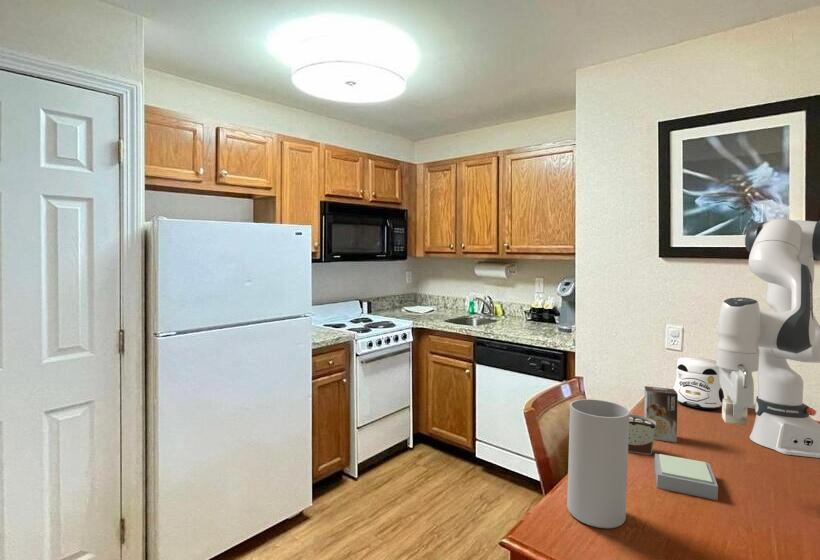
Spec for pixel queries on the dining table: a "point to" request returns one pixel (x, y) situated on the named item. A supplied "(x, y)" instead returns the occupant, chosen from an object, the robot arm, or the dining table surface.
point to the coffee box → (662, 411)
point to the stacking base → (685, 476)
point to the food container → (641, 434)
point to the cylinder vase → (598, 462)
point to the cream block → (727, 413)
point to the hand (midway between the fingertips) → (734, 414)
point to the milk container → (698, 383)
